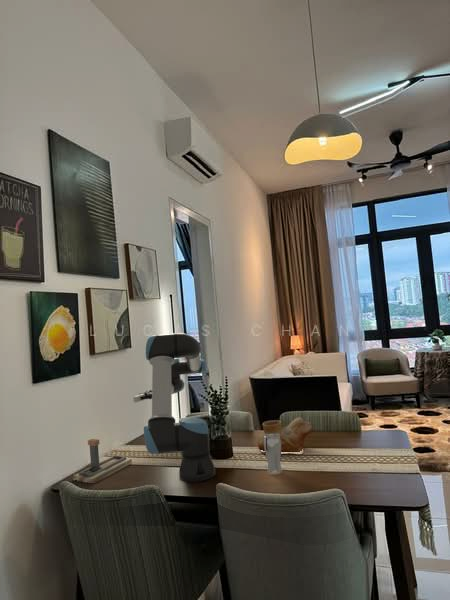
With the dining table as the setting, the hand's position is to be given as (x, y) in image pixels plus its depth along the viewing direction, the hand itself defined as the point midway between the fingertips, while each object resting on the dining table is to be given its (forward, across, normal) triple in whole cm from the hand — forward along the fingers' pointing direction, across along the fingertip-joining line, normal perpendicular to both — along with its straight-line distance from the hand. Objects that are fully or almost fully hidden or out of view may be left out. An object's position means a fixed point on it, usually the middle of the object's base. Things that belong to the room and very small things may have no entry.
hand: (134, 399), depth 205 cm
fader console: (+19, +4, -28) cm, 34 cm away
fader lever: (+24, +4, -26) cm, 36 cm away
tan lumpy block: (-28, -65, -28) cm, 76 cm away
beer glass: (-2, -70, -28) cm, 75 cm away
